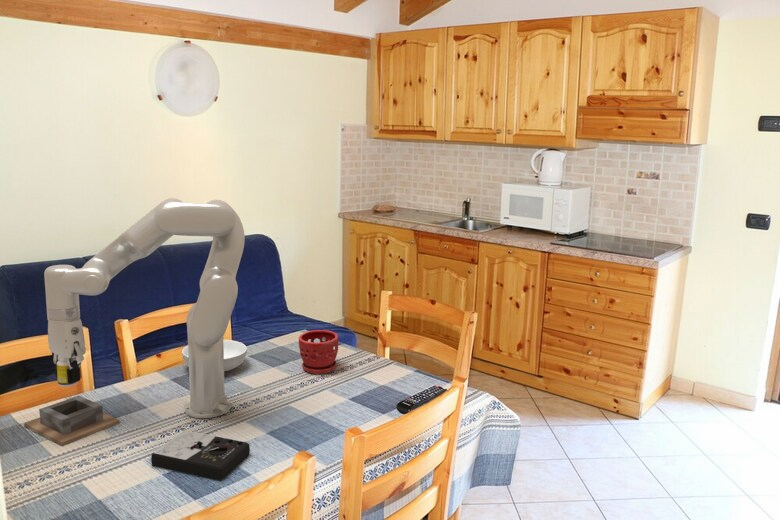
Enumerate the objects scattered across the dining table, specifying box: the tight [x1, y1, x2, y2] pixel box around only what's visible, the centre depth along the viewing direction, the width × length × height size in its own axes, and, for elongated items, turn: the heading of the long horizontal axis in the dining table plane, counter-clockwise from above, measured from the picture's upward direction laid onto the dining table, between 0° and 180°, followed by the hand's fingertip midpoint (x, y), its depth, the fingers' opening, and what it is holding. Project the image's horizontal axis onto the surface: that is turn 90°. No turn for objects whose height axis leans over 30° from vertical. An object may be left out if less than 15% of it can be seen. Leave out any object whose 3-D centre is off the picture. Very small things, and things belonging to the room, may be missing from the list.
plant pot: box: [298, 329, 339, 375], centre depth 213 cm, size 13×13×12 cm
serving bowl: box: [181, 339, 248, 373], centre depth 213 cm, size 21×21×7 cm
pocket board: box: [23, 395, 121, 447], centre depth 170 cm, size 18×16×5 cm
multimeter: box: [150, 430, 251, 482], centre depth 154 cm, size 13×19×5 cm
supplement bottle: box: [57, 354, 79, 388], centre depth 167 cm, size 5×5×8 cm
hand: (67, 378), depth 168 cm, fingers closed on supplement bottle, 4 cm apart
